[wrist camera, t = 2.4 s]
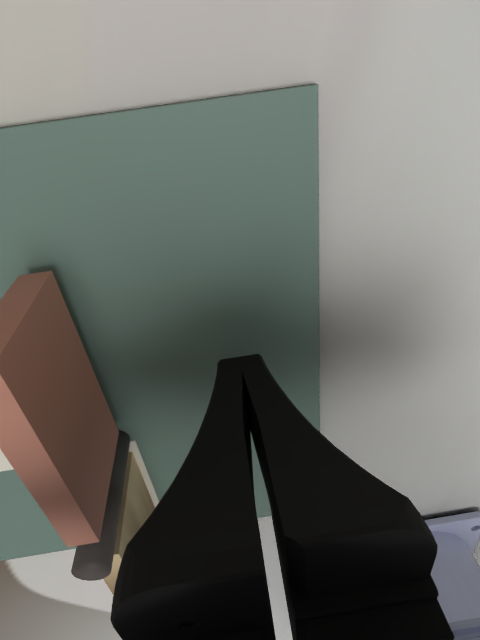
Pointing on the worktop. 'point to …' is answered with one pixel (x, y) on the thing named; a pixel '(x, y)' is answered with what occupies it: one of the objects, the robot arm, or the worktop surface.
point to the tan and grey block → (116, 519)
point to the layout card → (169, 264)
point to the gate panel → (54, 410)
